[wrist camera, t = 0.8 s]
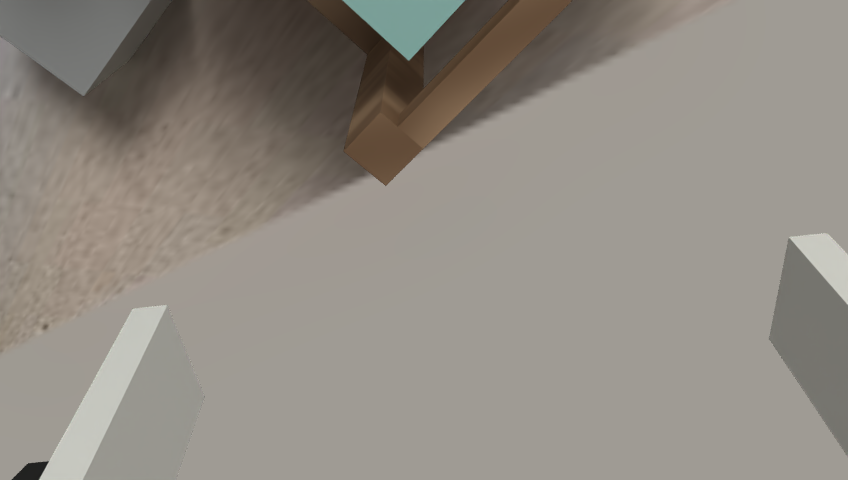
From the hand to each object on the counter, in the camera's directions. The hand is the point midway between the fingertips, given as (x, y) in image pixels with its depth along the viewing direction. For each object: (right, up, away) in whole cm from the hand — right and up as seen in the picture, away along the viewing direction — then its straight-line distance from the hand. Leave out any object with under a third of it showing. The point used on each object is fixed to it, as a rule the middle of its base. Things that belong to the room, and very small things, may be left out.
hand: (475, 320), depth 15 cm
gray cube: (-18, +15, +21) cm, 31 cm away
